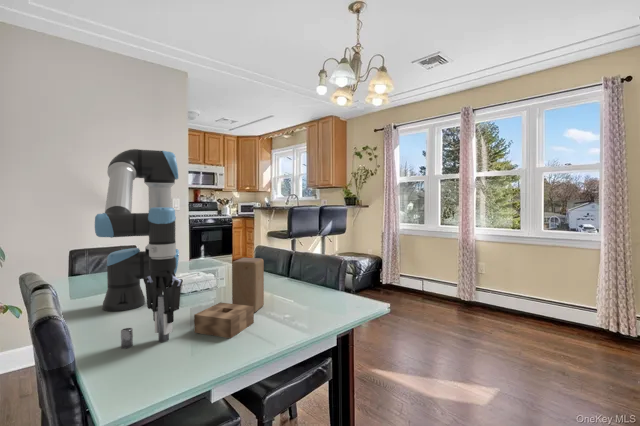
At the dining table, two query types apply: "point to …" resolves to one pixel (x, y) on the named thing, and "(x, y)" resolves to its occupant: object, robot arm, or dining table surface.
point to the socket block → (224, 320)
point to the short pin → (126, 338)
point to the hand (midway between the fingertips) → (163, 332)
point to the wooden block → (248, 282)
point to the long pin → (161, 320)
